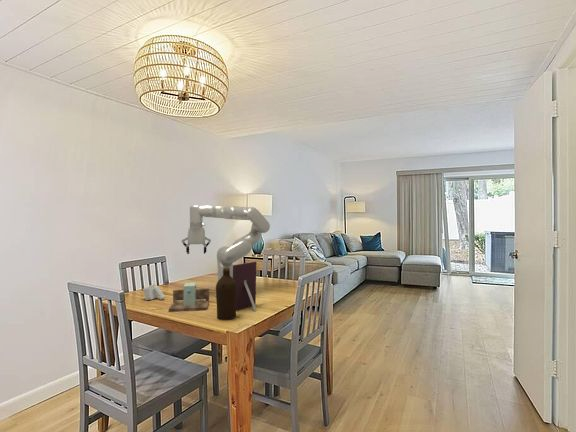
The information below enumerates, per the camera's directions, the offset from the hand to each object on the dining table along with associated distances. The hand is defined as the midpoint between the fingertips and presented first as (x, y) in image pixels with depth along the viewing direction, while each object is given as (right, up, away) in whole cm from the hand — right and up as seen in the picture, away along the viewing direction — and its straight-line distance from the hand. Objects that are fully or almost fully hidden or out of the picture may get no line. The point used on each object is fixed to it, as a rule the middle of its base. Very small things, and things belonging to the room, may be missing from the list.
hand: (196, 253), depth 195 cm
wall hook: (-26, -29, +2) cm, 38 cm away
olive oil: (+25, -29, -32) cm, 50 cm away
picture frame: (+35, -29, -20) cm, 49 cm away
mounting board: (0, -28, -15) cm, 32 cm away
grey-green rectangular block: (0, -27, -14) cm, 30 cm away
